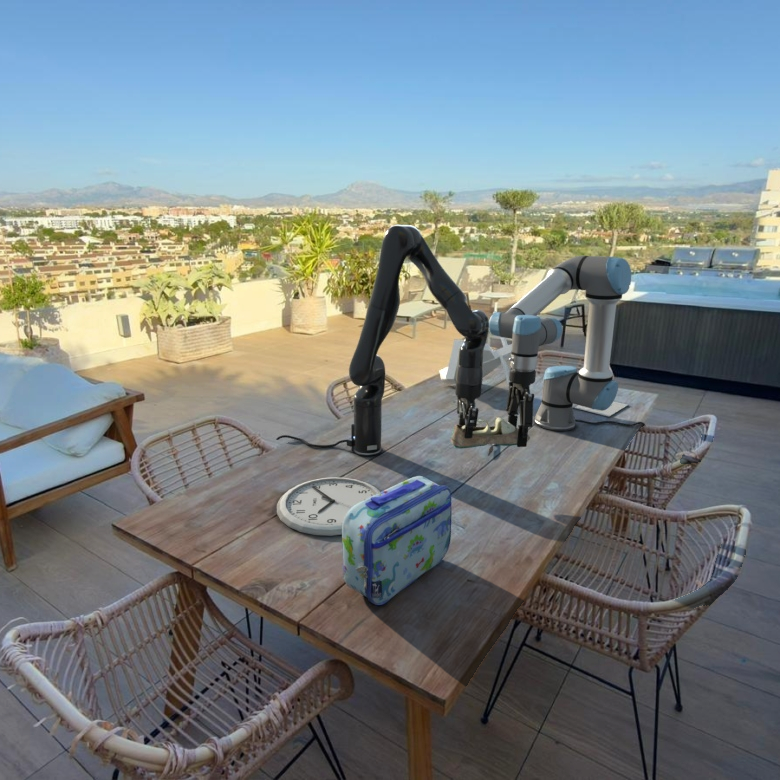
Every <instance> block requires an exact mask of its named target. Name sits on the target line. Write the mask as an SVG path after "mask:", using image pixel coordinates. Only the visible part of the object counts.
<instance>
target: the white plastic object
mask: <svg viewBox="0 0 780 780" xmlns="http://www.w3.org/2000/svg"><path fill="white" fill-rule="evenodd" d="M496 312H497V311H496V310H495V311H492V315H493V314H494V313H496ZM499 338H500V342H501V345H502V347H500V348H498V349H496V350H495V349H493V348H492V347H491V346H490V344H489V343H488V342H486V344H485V347H484V351H483V378H482V381H484V378H485V377H486V376H487V375H489V374H490V373H492V372H494V371H495V370H496V369H497V368H499V367H500V366H502V370H503V373H504V376H505V380H506V383H507V386H508V388H509V382H510V380H509V373H510V369H509V365H508V361H510V360H509V359H510V358H511V351H512V343H511V344H508V341H507V338H505V337H500V336H499ZM463 342H464V339H463V338H460V339H458V338H454V340H453V344H452V349H451V353H450V357H449V362H448V366H446V367H444V368H442V369H440V370H439V371H438V372H439V376H440V381H442V383H443V384H444V385H445V386H449V385H456V375H457V368H458V358H459V349H460V347H461V345H462V344H463Z"/></svg>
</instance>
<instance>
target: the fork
mask: <svg viewBox="0 0 780 780" xmlns="http://www.w3.org/2000/svg"><path fill="white" fill-rule="evenodd" d="M495 445H496V444H491V446H490V447H489V449H488V452H487V453H488V454H487V456H490V455H491V453H492V452H493V450H494V446H495ZM496 446H497V445H496Z"/></svg>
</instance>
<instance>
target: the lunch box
mask: <svg viewBox="0 0 780 780" xmlns="http://www.w3.org/2000/svg"><path fill="white" fill-rule="evenodd" d="M452 511H453V510H452V491H451V489H450V487H449V486H447V485H444V484H442V485H440V484H437V483H436V482H434V481H432V480H430V479H428V478H427V477H425V476H422V475H416V476H413V477H411V478H408V479H406V480H403V481H401V482H399V483H397V484H395V485H393V486H390V487H388V488H386V489H384V490H382V491H381V492H380V493H378V494H376V495H374V496H372V497H370V498H368V499H366V500H364V501H362V502H360V503H358V504H356V505H354V506H353V507H352V508H351V509H350V510H349V511H348V512H347V514H346V516H345V518H344V521H343V525H342V535H341V543H342V544H341V545H342V569H343V578H344V583H345V585H346V586H347V587H349V588H351V589H352V590H354V591H356V592H357V593H360V594H361V595H362V596H363V597H365V598H367V601H369V603H372V604H373V605H376V606H383V605H385V604H386V603H388V602H389V601H390V600H391V599H392V598H394V597H395V596H396V595H397V594H399V593H400V592H401V591H403V590H404V589H406V588H407V587H408V586H410V585H411V584H413V583H414V582H416V580H417V579H418V578H420V576H422V575H423V574H425V573H426V572H428V571H430V570H432V569H433V568H435V567H436V566H438V565H439V564H440V563H441V562H442V561H443V560H444V558H445V557H446V555H447V552H448V551H449V548H450V544H451V539H452V515H453V514H452Z"/></svg>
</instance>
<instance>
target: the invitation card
mask: <svg viewBox="0 0 780 780" xmlns="http://www.w3.org/2000/svg"><path fill="white" fill-rule="evenodd" d="M628 406H629V404H627V403H623V402H618V401H615V400H614V401H613V403H612V404H611V406H610V407H609V408H608V409H606V410H603V411H601V410H596V409H591V408H588V407H584V406H580V405H575V406H574V407H573V409H575V410H581V411H584V412H587V413H593V414H596V415H600V416H604V417H608V418H609V417H611V416H613V415H614V414H616V413H617V412H619V411H621V410H623V409H624V408H626V407H628Z"/></svg>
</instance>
